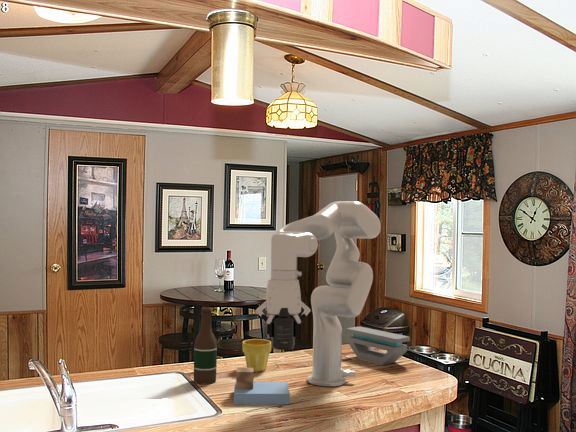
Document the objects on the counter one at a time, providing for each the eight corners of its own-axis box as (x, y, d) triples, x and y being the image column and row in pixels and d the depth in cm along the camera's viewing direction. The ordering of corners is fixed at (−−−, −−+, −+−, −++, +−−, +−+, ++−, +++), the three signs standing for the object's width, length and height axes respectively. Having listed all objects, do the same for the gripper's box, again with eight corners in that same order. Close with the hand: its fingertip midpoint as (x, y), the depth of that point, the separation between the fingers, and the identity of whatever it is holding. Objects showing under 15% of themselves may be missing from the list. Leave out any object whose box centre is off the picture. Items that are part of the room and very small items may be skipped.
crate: (252, 384, 169) (253, 367, 169) (253, 389, 164) (253, 372, 164) (236, 384, 169) (236, 367, 169) (236, 388, 164) (236, 371, 164)
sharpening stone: (409, 366, 207) (409, 336, 208) (396, 369, 202) (396, 339, 202) (358, 353, 226) (359, 326, 226) (345, 355, 221) (346, 328, 221)
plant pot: (235, 369, 196) (236, 342, 196) (253, 364, 205) (254, 337, 205) (259, 374, 190) (260, 346, 190) (276, 368, 199) (277, 341, 199)
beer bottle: (212, 385, 177) (213, 309, 177) (188, 383, 178) (190, 308, 179) (219, 378, 184) (221, 306, 185) (197, 377, 186) (199, 305, 186)
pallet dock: (286, 391, 172) (286, 381, 172) (289, 404, 160) (289, 393, 160) (234, 391, 171) (235, 381, 171) (233, 404, 159) (234, 393, 159)
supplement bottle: (270, 344, 165) (270, 304, 165) (293, 344, 166) (293, 304, 166) (272, 350, 159) (273, 308, 158) (296, 350, 159) (296, 308, 159)
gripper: (311, 274, 167) (310, 333, 167) (253, 274, 165) (252, 334, 165) (315, 277, 159) (314, 339, 160) (254, 277, 158) (254, 340, 158)
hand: (283, 336), depth 162 cm, fingers closed on supplement bottle, 6 cm apart
